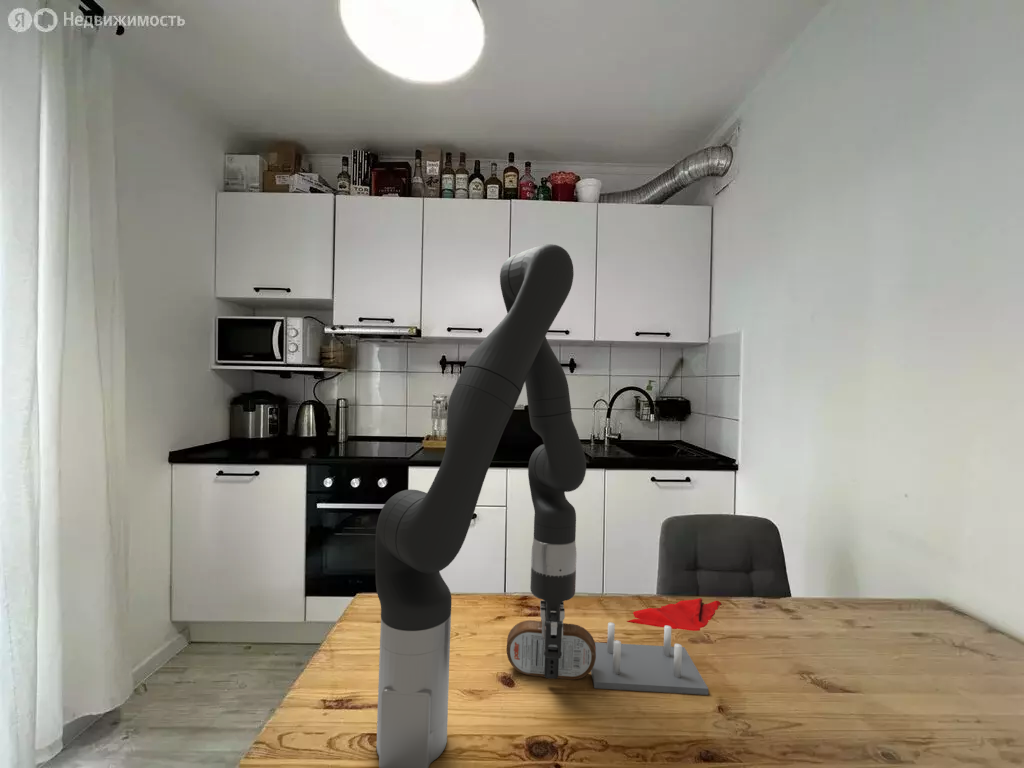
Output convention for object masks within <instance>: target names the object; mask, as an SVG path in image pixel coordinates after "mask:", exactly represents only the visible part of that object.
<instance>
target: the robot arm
mask: <svg viewBox="0 0 1024 768" xmlns="http://www.w3.org/2000/svg"><path fill="white" fill-rule="evenodd" d="M572 260H573V259H572V258H571V256H570V254H569V252H568V251H567V250H566V249H565V248H564V247H562V246H560V245H558V244H553V243H552V244H541V245H538V246H535V247H532V248H528V249H526V250H523V251H521V252H519V253H516V254H513V255H511V256H510V257H509V258H508V257H507V259H505V261H504V262H503V264H502V266H501V268H500V272H499V285H500V289H501V293H502V299H503V302H504V306H505V309H506V313H507V314H506V315H505V316H504V318H503V319H502V320H501V321H500V322H499V324H498V325H496V327H495V328H494V329H493V330H492V331H491V332H490V333H489V334H488V335H487V336H486V337H485V338H484V339H483V340H482V342H481V343H479V345H478V346H477V347H476V348H475V349H474V351H473V352H472V353H471V355H470V356H469V358H468V359H467V360H466V363H465V364H464V366H463V368H462V370H461V372H460V374H459V377H458V379H457V381H456V383H455V385H454V387H453V389H452V391H451V394H450V396H449V400H448V404H447V411H446V412H447V413H446V439H445V440H446V441H445V449H444V450H445V451H444V454H443V457H442V460H441V463H440V465H439V468H438V470H437V473H436V475H435V477H434V479H433V481H432V483H431V485H430V487H429V488H428V490H427V492H424V491H422V490H418V489H404V490H401V491H398V492H397V493H395V494H394V495H392V496H391V497H390V498H389V499H388V500H387V501H386V502H385V503H384V505H383V506H382V508H381V511H380V513H379V515H378V519H377V522H376V523H377V524H376V528H375V550H374V553H375V587H376V594H377V597H378V600H379V603H380V635H379V637H380V638H379V656H378V657H379V660H378V687H377V688H378V689H377V693H378V694H377V713H376V714H377V715H376V716H377V718H376V719H377V721H376V722H377V723H376V747H375V748H376V753H377V756H378V768H430V765H431V764H432V763H433V762H434V761H435V760H436V759H438V758H439V757H440V756H441V754H442V753H444V752H443V751H444V750H445V748H446V745H447V743H448V722H449V721H448V720H449V719H448V718H449V716H448V715H449V714H448V713H449V687H450V686H449V683H450V678H449V677H450V653H451V652H450V650H451V647H450V646H451V628H452V627H451V626H452V625H451V623H452V593H451V590H450V588H449V587H448V586H449V585H448V584H447V583H446V582H445V580H444V578H443V576H442V575H441V573H440V572H441V571H442V570H444V569H446V568H447V567H448V566H449V565H450V564H451V563H452V562H453V561H454V560H455V558H457V555H458V554H459V553H460V551H461V549H462V547H463V545H464V543H465V540H466V538H467V535H468V532H469V529H470V526H471V523H472V521H473V520H472V519H473V516H474V514H475V511H476V507H477V504H478V501H479V497H480V494H481V491H482V487H483V484H484V482H485V479H486V476H487V473H488V471H489V468H490V465H491V463H492V461H493V458H494V455H495V454H496V451H497V448H498V446H499V443H500V440H501V438H502V435H503V433H504V431H505V428H506V426H507V425H508V422H509V421H510V418H511V416H512V415H513V412H514V409H515V408H516V405H517V403H518V400H519V398H520V395H521V393H522V391H523V387H524V385H525V391H526V399H527V407H528V414H529V422H530V426H531V428H532V430H533V431H534V432H535V433H536V434H537V435H538V436H539V437H540V438H541V439H542V443H543V444H540V445H539V446H538V447H536V448H535V449H534V451H532V454H530V455H531V456H530V458H529V461H528V469H527V471H528V472H527V475H528V477H527V478H528V484H529V490H530V496H531V501H532V505H533V510H534V516H533V517H534V518H533V537H532V538H533V539H532V540H533V541H532V546H531V557H530V559H531V561H530V592H531V594H532V596H534V597H535V598H537V599H539V601H540V603H539V604H540V605H539V607H540V608H539V610H540V621H542V637H543V638H544V639H545V649H544V655H545V668H544V676H545V677H544V678H545V679H549V680H550V679H551V680H553V679H554V680H557V679H559V678H558V668H559V658H561V656H562V653H561V639H562V638H563V623H564V620H565V618H566V617H565V616H566V613H565V607H564V602H565V601H570V600H571V599H572V598H574V596H575V595H576V585H577V584H576V581H577V580H576V579H577V547H576V546H577V545H576V531H577V530H576V528H577V512H576V509H575V507H574V506H573V505H572V503H571V502H569V501H568V499H567V498H566V494H565V493H569V492H573V491H575V490H577V489H578V488H579V487H580V486H581V485H582V484H583V482H584V481H585V477H586V473H587V461H586V455H585V451H584V448H583V446H582V445H583V444H582V442H581V440H580V437H579V434H578V430H577V428H576V426H575V423H574V421H573V416H572V415H573V414H572V406H571V405H572V404H571V399H570V389H569V384H568V383H569V382H568V378H567V376H566V373H565V372H564V369H563V367H562V364H561V363H560V361H559V359H558V358H557V356H556V354H555V352H554V351H553V349H552V347H551V345H550V343H549V341H548V339H547V334H548V332H549V330H550V328H551V326H552V325H553V323H554V322H555V319H556V318H557V315H558V314H559V312H560V311H561V309H562V307H563V306H564V303H565V302H566V300H567V298H568V296H569V295H570V291H571V289H572V286H573V283H574V282H573V281H574V274H575V273H574V264H573V261H572ZM545 626H546V632H545ZM549 645H557V647H548V646H549Z"/></svg>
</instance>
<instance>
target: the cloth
mask: <svg viewBox="0 0 1024 768" xmlns="http://www.w3.org/2000/svg"><path fill="white" fill-rule="evenodd" d="M702 603H703V599H702V597H699V598H693V599H686V600H685V599H684V600H679V601H678V602H676V603H667V604H666V605H661V606H660V607H648V608H644V609H638V610H635V611H633V612H632V614H633V617H634V619H629V620H626V622H628V623H632V624H638V625H645V626H651V627H657V628H664V626H666V625H667V626H670V627H671V630H678V629H679V630H684V631H689V632H691V631H692V632H693V631H694V632H697V631H701V629H702V628H704V627H706V626H707V625H708V624H709V622H710V621H711V620H712V618H713V617H714V615H715V613H716V611H717V610H718V609H719V607H720V606H721V604H722V602H720V601H719V600H714V601H711V602H709V603H703V604H702Z"/></svg>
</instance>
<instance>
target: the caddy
mask: <svg viewBox="0 0 1024 768" xmlns="http://www.w3.org/2000/svg"><path fill="white" fill-rule="evenodd" d="M615 625H616V624H615V623H614V622H610V621H609V622H608V623H607V640H606V642H599V641H598V642H597V641H594V642H595V646H596V660H595V664H594V667H593V669H592V670H591V671H590V675H591V679H592V682H593V684H592V685H593V687H594V689H601V690H620V691H634V692H635V691H636V692H638V691H639V692H652V693H670V694H682V695H683V694H684V695H685V694H687V695H702V696H709V687H708V685H707V684H706V682H705V680H704V679H703V677H702V674H701V673H700V672H699V670H698V668H697V666H696V665H695V663H694V661H693V659H692V658H691V656H690V654H689V653H688V651H687V649H686V648H685V646H683V645H682V644H680V643H674V644H673V645H674V646H672V629H671V627H670V626H667V625H666V626H664V627H663V631H664V632H663V645H650V644H633V643H632V644H631V643H622V642H621V640H617V639H616V640H615V633H616V628H615V627H616V626H615Z"/></svg>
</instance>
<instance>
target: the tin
mask: <svg viewBox="0 0 1024 768" xmlns="http://www.w3.org/2000/svg"><path fill="white" fill-rule="evenodd" d="M545 632H546V626H545ZM506 639H507V640H506V656H507V659H508V661H509V663H510V665H511V666H512V667H513V669H515V670H516V671H517V672H518V673H520V674H522V675H525V676H532V677H541V678H542V677H543V678H545V676H544V668H545V655H544V649H545V639H544V638H543V637H542V621H541V620H532V619H527V620H523V621H520V622H518V623H516V624H515V625H513V627H511V629H510V631H509V633H508V635H507V638H506ZM595 642H596V641H595V639H594V637H593V636H592V634H591V633H590V632H589V631H588V630H587V629H586V628H584V627H583V626H581V625H578V624H575V623H566V622H565V623H564V622H563V638H562V639H561V653H562V656H561V658H559V668H558V678H557V679H563V680H571V681H572V680H579V679H582V678H585V677H586V676H587V675H589V674H590V673H591V670H592V669H593V667H594V664H595V660H596V646H595ZM548 647H557V645H549V646H548Z"/></svg>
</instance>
